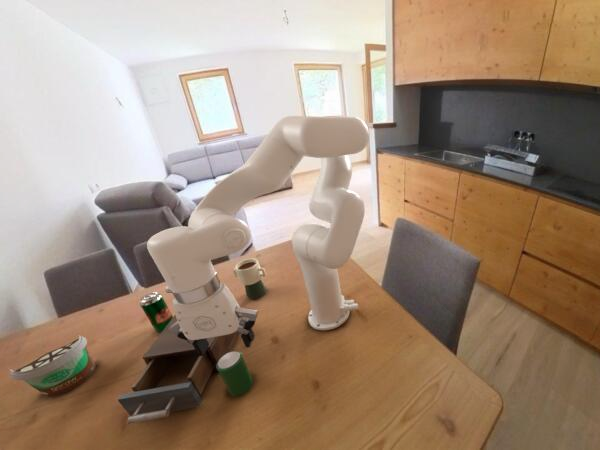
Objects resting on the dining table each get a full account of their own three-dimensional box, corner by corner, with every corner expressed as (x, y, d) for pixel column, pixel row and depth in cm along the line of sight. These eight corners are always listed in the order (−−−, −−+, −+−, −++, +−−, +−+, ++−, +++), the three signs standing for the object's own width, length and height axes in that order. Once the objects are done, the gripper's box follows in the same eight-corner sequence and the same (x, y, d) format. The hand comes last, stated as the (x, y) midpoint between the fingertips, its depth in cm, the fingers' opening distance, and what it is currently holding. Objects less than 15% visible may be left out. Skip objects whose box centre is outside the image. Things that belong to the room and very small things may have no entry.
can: (255, 373, 70) (244, 348, 66) (249, 393, 65) (237, 367, 61) (233, 377, 69) (221, 352, 65) (225, 398, 65) (211, 372, 61)
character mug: (276, 287, 101) (267, 257, 95) (267, 301, 94) (257, 269, 89) (247, 288, 101) (236, 258, 95) (236, 301, 95) (224, 270, 89)
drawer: (191, 425, 59) (178, 405, 56) (119, 439, 57) (102, 419, 54) (225, 352, 75) (216, 333, 72) (170, 361, 73) (159, 342, 70)
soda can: (165, 334, 83) (147, 303, 78) (151, 332, 84) (133, 302, 79) (180, 322, 87) (164, 292, 82) (167, 320, 88) (150, 290, 83)
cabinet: (221, 370, 71) (209, 346, 67) (158, 381, 69) (142, 357, 65) (242, 324, 85) (233, 302, 81) (189, 332, 83) (178, 310, 79)
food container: (39, 412, 64) (10, 384, 59) (33, 398, 67) (5, 371, 62) (109, 369, 73) (89, 343, 68) (102, 359, 76) (82, 333, 71)
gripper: (136, 308, 50) (177, 369, 58) (237, 292, 52) (263, 353, 60) (160, 282, 57) (194, 340, 65) (249, 269, 59) (271, 326, 67)
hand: (227, 346), depth 62 cm, fingers open, 9 cm apart
